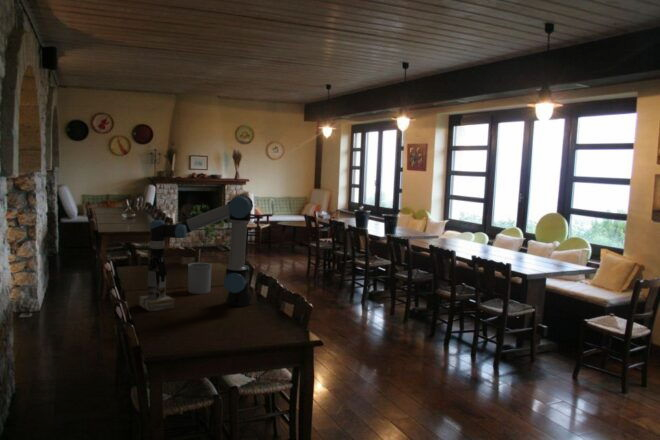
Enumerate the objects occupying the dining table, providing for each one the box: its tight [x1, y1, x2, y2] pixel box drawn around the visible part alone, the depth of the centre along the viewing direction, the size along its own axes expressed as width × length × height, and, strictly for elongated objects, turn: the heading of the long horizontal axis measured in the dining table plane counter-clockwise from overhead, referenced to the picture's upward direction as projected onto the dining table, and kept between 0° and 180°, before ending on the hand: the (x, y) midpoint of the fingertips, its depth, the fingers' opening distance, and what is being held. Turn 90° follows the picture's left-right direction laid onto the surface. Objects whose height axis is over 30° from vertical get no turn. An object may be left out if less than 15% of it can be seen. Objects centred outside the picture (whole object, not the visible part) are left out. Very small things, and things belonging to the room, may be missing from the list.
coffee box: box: [147, 268, 167, 300], centre depth 305 cm, size 9×6×16 cm
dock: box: [138, 294, 176, 312], centre depth 306 cm, size 16×14×5 cm
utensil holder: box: [187, 262, 213, 295], centre depth 346 cm, size 15×15×18 cm
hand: (157, 285), depth 305 cm, fingers open, 13 cm apart
